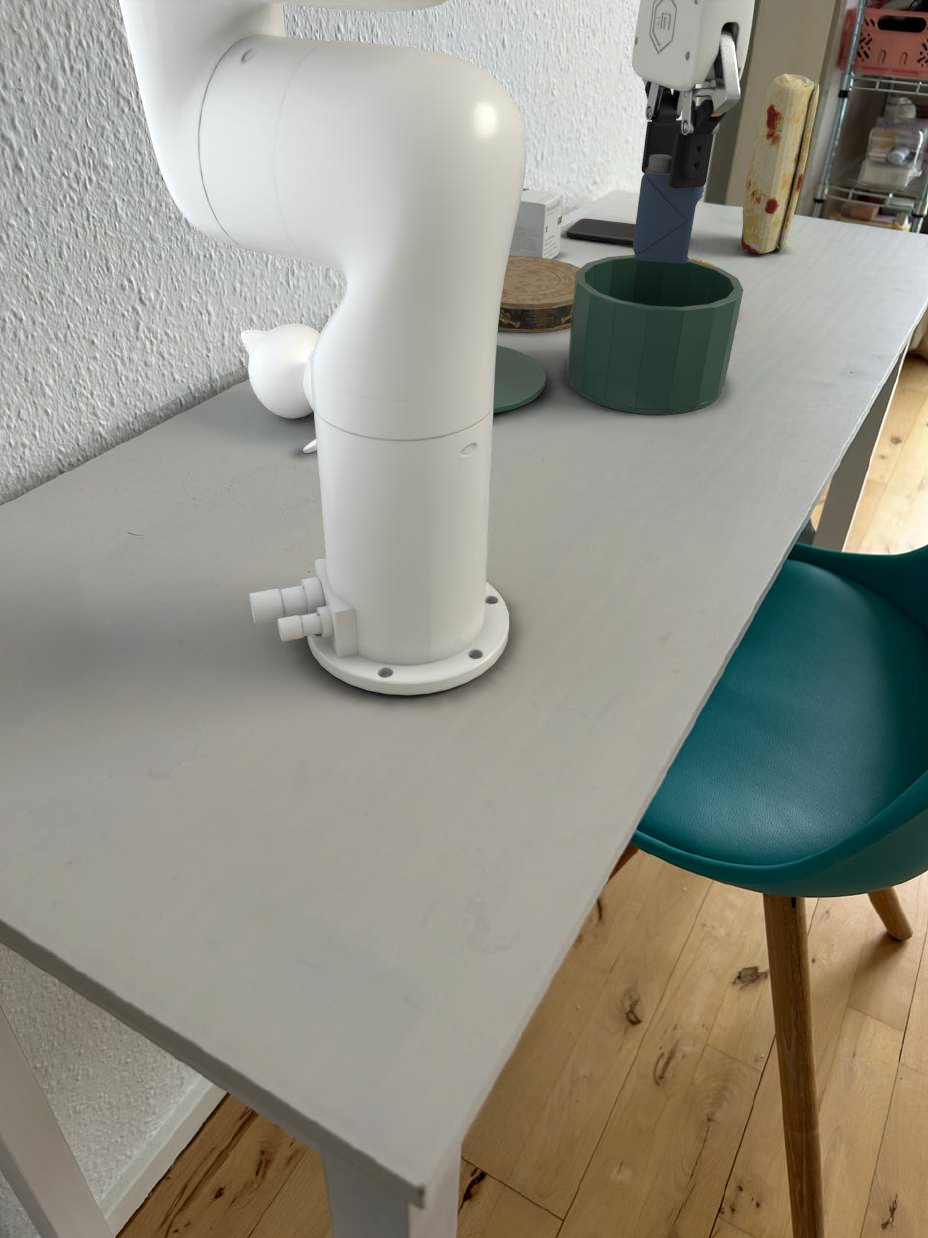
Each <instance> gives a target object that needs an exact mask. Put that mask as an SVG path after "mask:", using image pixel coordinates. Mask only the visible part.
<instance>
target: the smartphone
mask: <svg viewBox="0 0 928 1238" xmlns="http://www.w3.org/2000/svg"><path fill="white" fill-rule="evenodd" d="M635 225H636V223H631V222H620V221H613V220H605V219H596V218H595V219H594V218H580V219H578V220H577V221H576V222H575V223H573V224H572V225H571V226H570V227H568V229H567V230H566V236H567V237H569V238H575V239H582V240H583V239H584V240H591V241H599V242H606V243H607V242H608V243H617V244H623V245H624V244H626V245H630V246H631V245H632V246H633V241H634V233H635Z"/></svg>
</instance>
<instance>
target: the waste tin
mask: <svg viewBox="0 0 928 1238" xmlns="http://www.w3.org/2000/svg"><path fill="white" fill-rule="evenodd" d="M634 255H635V254H626V255H625V254H624V255H615V256H614V255H613V256H606V257H603V258H600V259H596V260H592V261H588V262H587V263H585V264H584V265H583V266H581V267H579V268H580V269H579V270H578V271H577V272H576V276H575V287H574V298H573V309H572V320H571V327H570V331H569V344H568V355H567V364H566V366H567V367H566V368H567V372H566V373H567V374H566V375H567V376H566V378H567V382H568V384H569V386H570V387H571V388H572V389H573V390H574V391H575V392H576V393H577V394H578V395H580V396H581V397H583V398H584V399H586V400H588V401H590V402H592V403H594V404H597V405H600V406H602V407H604V408H605V407H606V408H609V409H611V410H612V409H613V410H616V411H621V412H627V413H632V414H633V413H634V414H641V415H655V416H656V415H657V416H658V415H676V414H677V415H679V414H685V413H691V412H694V411H697V410H701V409H703V408H706V407H708V406H710V405H713V403H714V402H716V401H718V399H719V398H720V397H721V394H722V391H723V388H724V387H725V385H726V379H727V374H728V369H729V364H730V358H731V354H732V351H733V350H732V349H733V345H734V344H733V343H734V339H735V334H736V329H737V324H738V320H739V314H740V310H741V304H742V299H743V294H744V288H743V285H742V284H741V282H740V280H739V278H738V277H737V276H735V275H733V274H732V273H730V272H728V271H726V270H725V269H723V268H720V267H719V266H716V265H715V266H716V267H715V266H711V265H708V264H705V263H702V262H699V261H696V260H689V261H688V262H687V263H678V264H673V263H662V262H650V261H641V260H638V259H636V257H635V256H634ZM718 267H719V268H718Z"/></svg>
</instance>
